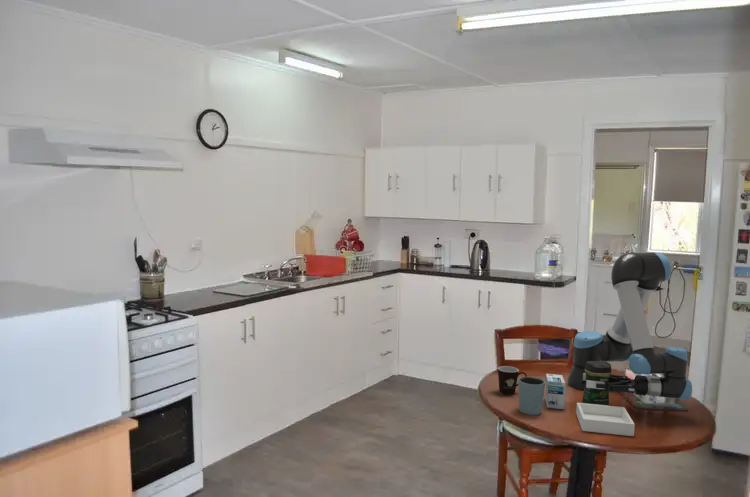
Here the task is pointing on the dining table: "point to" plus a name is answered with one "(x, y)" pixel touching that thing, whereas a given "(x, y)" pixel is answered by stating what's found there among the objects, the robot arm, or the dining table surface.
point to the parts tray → (604, 419)
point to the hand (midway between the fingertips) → (584, 380)
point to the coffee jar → (597, 373)
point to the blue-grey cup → (531, 395)
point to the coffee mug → (508, 379)
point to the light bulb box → (555, 391)
